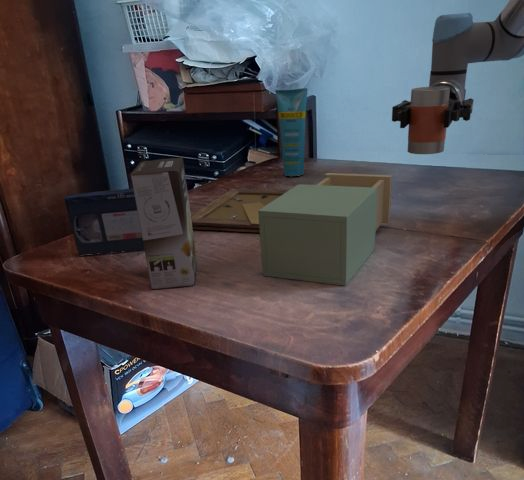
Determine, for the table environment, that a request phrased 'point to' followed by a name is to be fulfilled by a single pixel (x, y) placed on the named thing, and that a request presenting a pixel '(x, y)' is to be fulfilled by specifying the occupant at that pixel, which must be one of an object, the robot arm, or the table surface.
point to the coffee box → (165, 222)
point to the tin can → (427, 119)
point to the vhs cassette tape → (104, 221)
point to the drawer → (367, 180)
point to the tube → (292, 128)
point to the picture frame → (235, 210)
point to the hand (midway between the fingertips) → (424, 119)
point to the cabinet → (318, 233)
